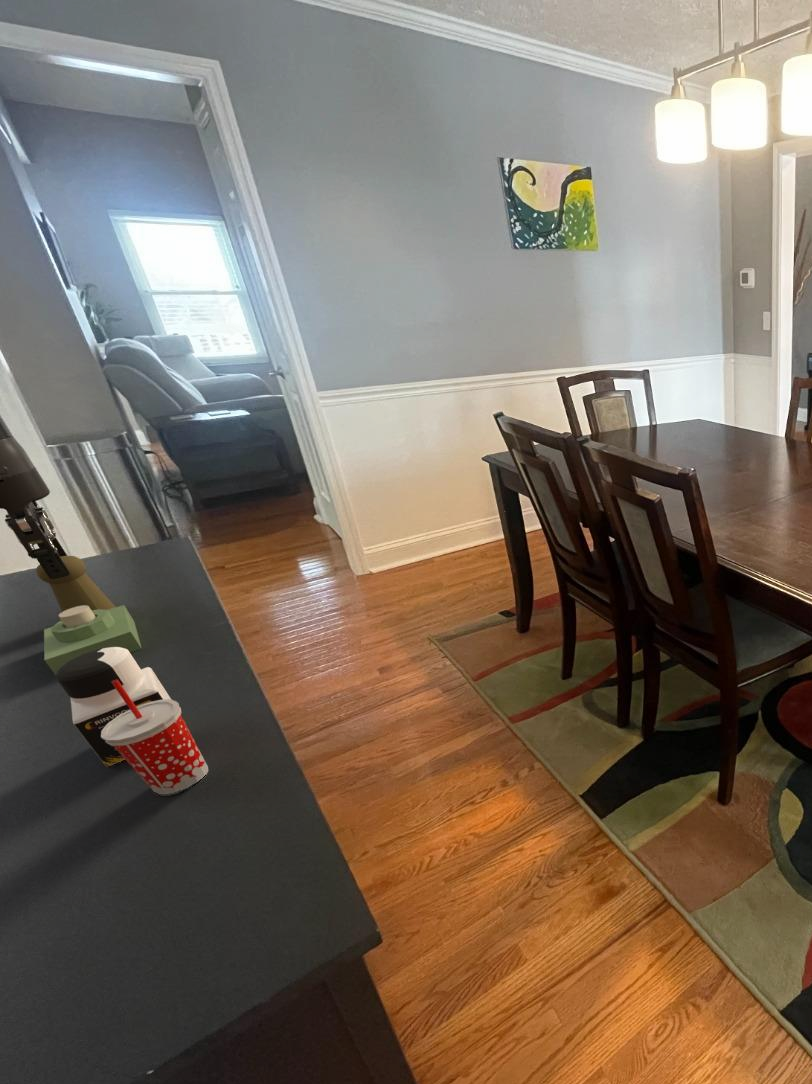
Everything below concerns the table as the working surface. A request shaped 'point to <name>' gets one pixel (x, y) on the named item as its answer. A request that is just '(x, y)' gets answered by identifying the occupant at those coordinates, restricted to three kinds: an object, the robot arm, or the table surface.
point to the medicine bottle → (106, 693)
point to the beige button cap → (77, 616)
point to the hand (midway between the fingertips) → (60, 568)
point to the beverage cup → (156, 744)
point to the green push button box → (90, 636)
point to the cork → (75, 587)
